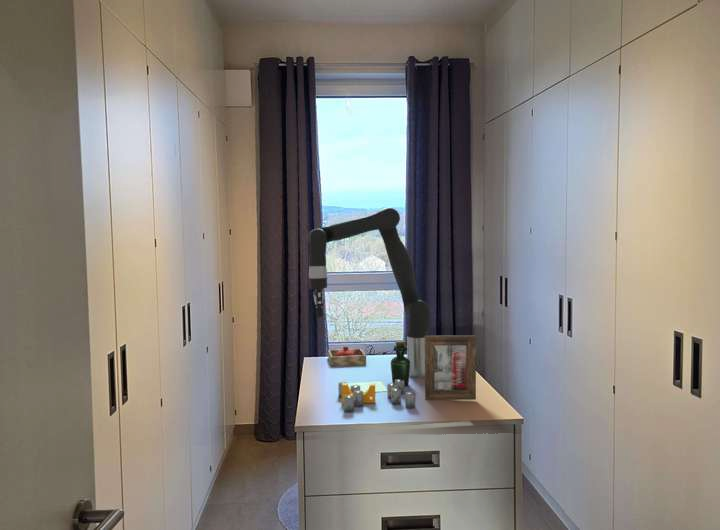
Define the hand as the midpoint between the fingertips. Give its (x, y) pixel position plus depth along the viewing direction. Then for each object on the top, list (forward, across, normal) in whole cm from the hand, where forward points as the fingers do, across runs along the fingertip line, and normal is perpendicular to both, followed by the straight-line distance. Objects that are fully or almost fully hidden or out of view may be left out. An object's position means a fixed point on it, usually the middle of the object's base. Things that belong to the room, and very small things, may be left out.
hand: (318, 315), depth 215 cm
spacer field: (+28, -29, -18) cm, 45 cm away
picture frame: (+29, -32, -46) cm, 63 cm away
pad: (+28, -11, -17) cm, 35 cm away
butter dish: (+29, +32, -14) cm, 45 cm away
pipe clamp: (+28, -30, -12) cm, 43 cm away
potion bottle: (+29, -10, -32) cm, 44 cm away
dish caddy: (+28, +32, -15) cm, 45 cm away
